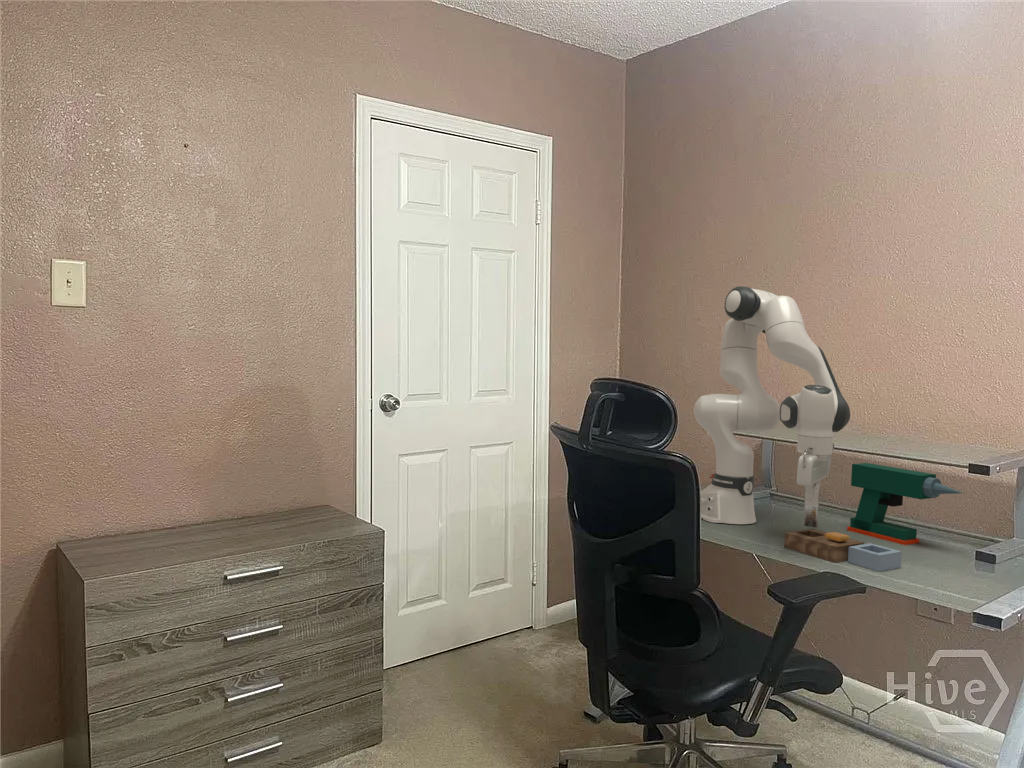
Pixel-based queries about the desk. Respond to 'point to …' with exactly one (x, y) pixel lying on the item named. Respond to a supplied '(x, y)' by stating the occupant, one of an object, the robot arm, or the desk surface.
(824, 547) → the block
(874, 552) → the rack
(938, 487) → the power tool
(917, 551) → the desk surface
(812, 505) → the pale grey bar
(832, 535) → the tan block
